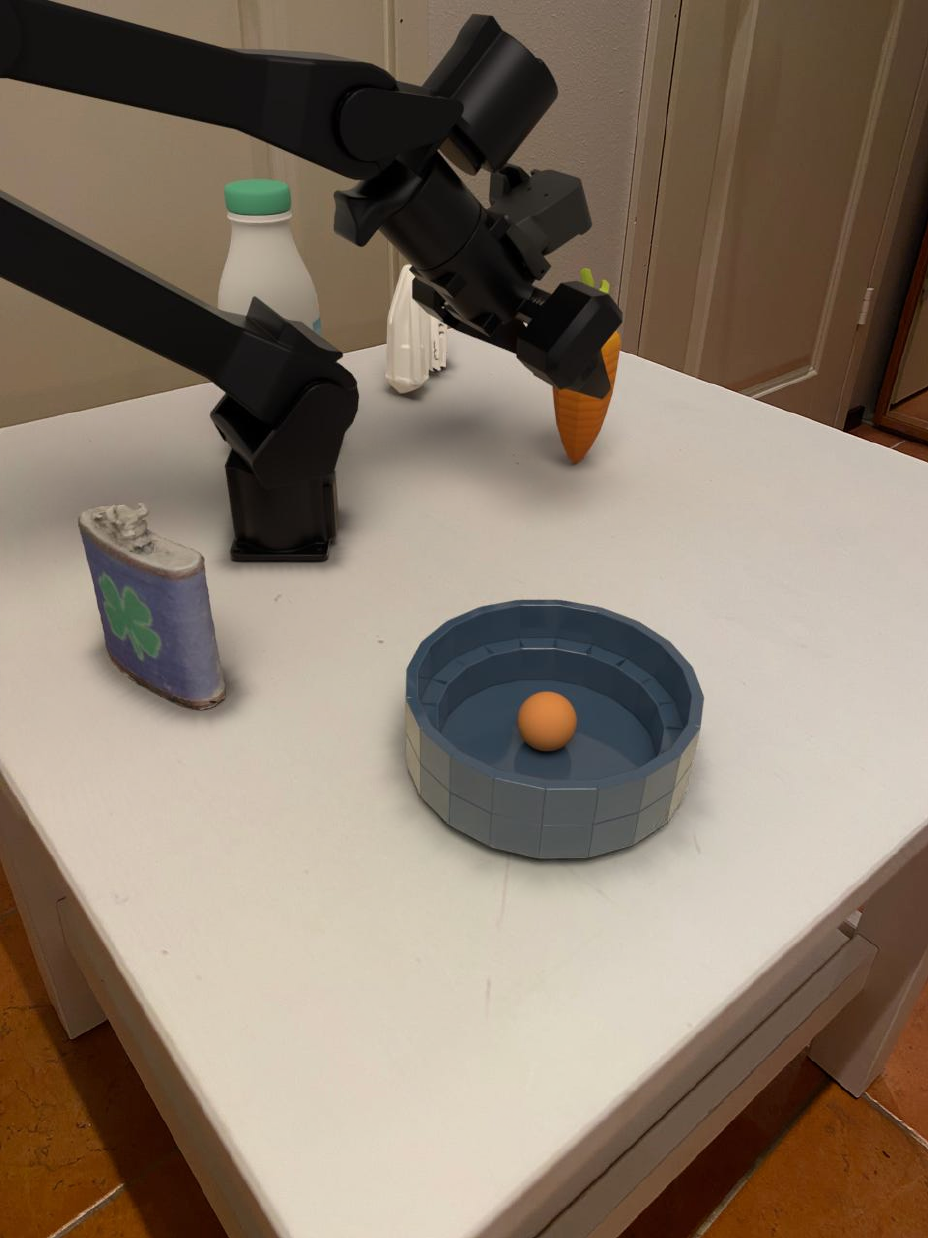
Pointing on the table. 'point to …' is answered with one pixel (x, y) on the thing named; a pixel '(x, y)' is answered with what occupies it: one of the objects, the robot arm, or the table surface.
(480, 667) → the bowl
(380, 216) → the robot arm
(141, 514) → the flask
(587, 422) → the carrot
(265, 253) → the milk bottle
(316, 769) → the table surface
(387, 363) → the shaker set
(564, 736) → the ball
